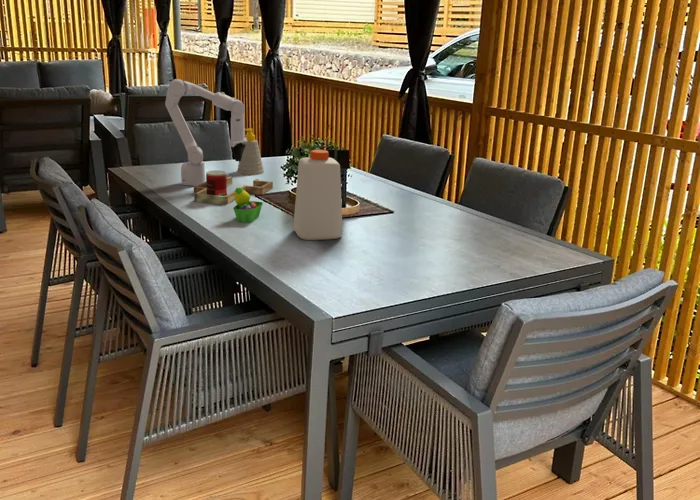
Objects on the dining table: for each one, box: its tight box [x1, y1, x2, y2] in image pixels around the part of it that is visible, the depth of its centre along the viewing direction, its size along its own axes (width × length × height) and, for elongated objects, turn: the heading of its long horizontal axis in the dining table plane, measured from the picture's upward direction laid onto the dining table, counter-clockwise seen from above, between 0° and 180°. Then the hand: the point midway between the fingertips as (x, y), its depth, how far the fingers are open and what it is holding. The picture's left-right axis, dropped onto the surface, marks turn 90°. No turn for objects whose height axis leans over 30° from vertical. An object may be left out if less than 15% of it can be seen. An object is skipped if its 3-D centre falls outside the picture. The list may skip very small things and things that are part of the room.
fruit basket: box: [232, 187, 264, 223], centre depth 235 cm, size 11×9×11 cm
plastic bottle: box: [292, 149, 343, 241], centre depth 218 cm, size 15×15×28 cm
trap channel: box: [193, 176, 274, 206], centre depth 270 cm, size 26×34×3 cm
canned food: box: [205, 170, 228, 196], centre depth 259 cm, size 8×8×11 cm
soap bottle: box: [236, 128, 265, 176], centre depth 308 cm, size 12×12×20 cm
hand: (238, 161), depth 285 cm, fingers closed
